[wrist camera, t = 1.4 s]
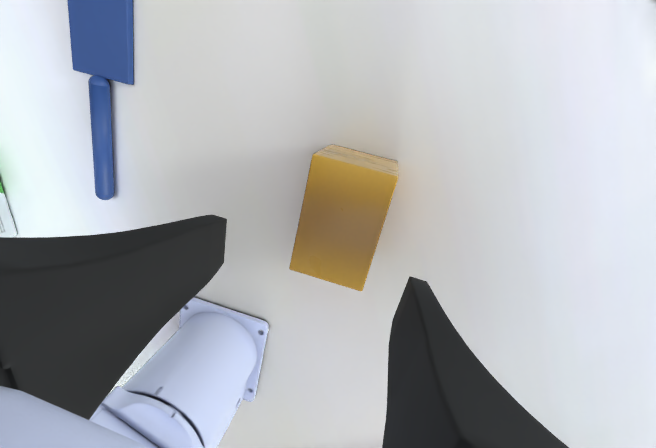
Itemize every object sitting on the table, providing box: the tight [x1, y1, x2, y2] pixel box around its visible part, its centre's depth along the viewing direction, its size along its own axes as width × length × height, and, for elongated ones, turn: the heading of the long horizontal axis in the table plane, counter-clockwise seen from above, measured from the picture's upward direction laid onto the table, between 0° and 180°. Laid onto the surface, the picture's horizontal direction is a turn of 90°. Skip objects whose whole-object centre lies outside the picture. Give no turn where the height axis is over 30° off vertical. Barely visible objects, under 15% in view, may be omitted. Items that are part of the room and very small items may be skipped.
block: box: [290, 144, 398, 291], centre depth 19 cm, size 7×4×5 cm, turn 167°
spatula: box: [68, 0, 134, 200], centre depth 22 cm, size 15×4×1 cm, turn 167°
